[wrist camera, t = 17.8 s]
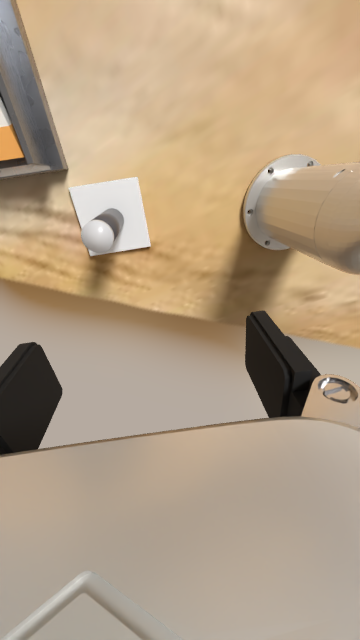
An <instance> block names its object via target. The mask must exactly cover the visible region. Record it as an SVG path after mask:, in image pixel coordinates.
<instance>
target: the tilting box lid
mask: <svg viewBox="0 0 360 640" xmlns="http://www.w3.org/2000/svg"><path fill="white" fill-rule="evenodd" d="M22 157H25V155H24V152H23V150H22V147H21V145H20V142H19V139H18V137H17V134H16V131H15V129H14V126H13V123H12V121H11V119H10V117H9V115H8V113H7V111H6V109H5V106H4V104H3V102H2V100H1V98H0V161H2V160H9V159H15V158H22Z"/></svg>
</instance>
